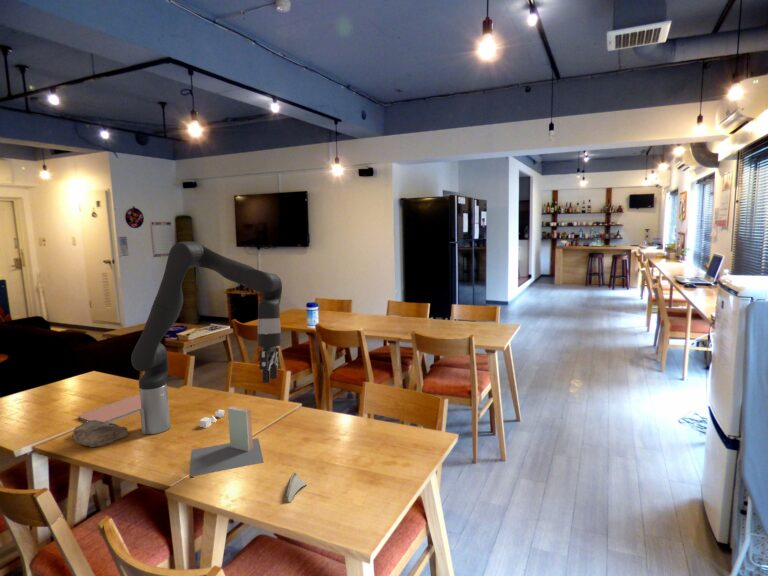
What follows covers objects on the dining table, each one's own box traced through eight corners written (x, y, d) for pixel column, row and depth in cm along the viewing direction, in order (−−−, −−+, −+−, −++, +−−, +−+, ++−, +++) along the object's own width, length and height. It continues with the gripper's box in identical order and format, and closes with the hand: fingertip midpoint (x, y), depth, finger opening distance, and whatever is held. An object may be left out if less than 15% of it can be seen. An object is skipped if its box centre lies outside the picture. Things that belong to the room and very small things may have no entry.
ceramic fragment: (293, 476, 139) (292, 464, 139) (309, 475, 139) (309, 464, 139) (283, 505, 126) (282, 492, 125) (302, 504, 126) (301, 491, 125)
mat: (189, 478, 138) (189, 476, 138) (191, 451, 155) (191, 449, 155) (263, 464, 146) (263, 462, 146) (258, 439, 163) (258, 438, 163)
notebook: (141, 396, 207) (140, 392, 207) (163, 403, 199) (163, 399, 198) (76, 419, 184) (75, 414, 184) (98, 428, 176) (98, 423, 175)
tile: (248, 451, 153) (246, 411, 151) (230, 446, 157) (227, 408, 155) (253, 448, 155) (250, 409, 153) (234, 444, 159) (232, 405, 157)
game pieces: (206, 429, 173) (206, 421, 172) (199, 428, 174) (198, 420, 173) (226, 416, 184) (225, 408, 184) (219, 415, 185) (218, 407, 185)
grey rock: (64, 437, 168) (89, 451, 156) (63, 425, 167) (87, 437, 156) (105, 424, 179) (130, 436, 168) (103, 412, 179) (129, 423, 167)
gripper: (264, 331, 161) (265, 377, 160) (251, 333, 146) (251, 384, 145) (285, 330, 160) (286, 377, 159) (274, 332, 146) (275, 383, 145)
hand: (270, 380), depth 152 cm, fingers open, 8 cm apart
